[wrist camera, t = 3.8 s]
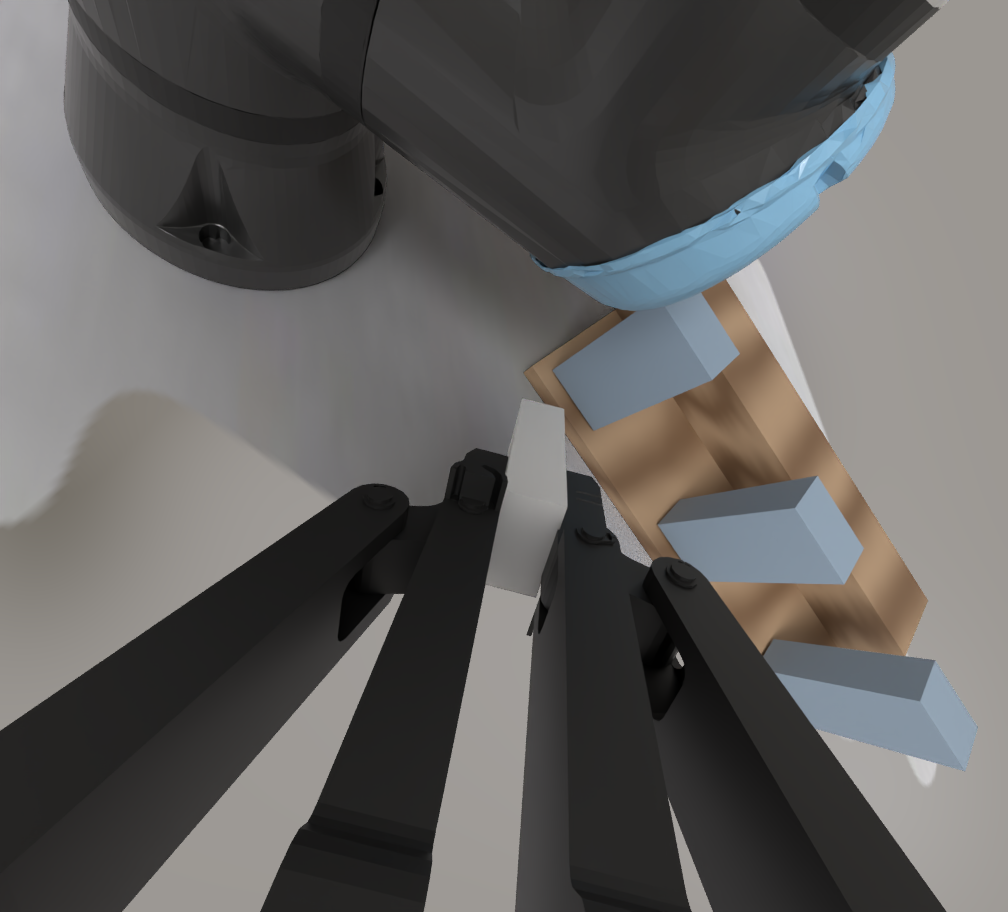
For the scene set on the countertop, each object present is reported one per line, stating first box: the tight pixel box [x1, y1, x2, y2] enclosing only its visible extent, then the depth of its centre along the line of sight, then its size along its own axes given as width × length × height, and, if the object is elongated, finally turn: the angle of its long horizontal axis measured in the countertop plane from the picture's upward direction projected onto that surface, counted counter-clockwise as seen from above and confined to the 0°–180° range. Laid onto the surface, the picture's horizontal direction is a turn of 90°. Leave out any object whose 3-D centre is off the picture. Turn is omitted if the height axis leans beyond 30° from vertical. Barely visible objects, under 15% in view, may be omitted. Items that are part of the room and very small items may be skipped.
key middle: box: [658, 476, 864, 585], centre depth 30 cm, size 5×3×10 cm, turn 39°
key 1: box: [763, 639, 978, 771], centre depth 31 cm, size 5×3×10 cm, turn 39°
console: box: [524, 279, 928, 656], centre depth 36 cm, size 33×16×6 cm, turn 39°
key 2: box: [553, 293, 740, 431], centre depth 29 cm, size 5×3×10 cm, turn 39°
